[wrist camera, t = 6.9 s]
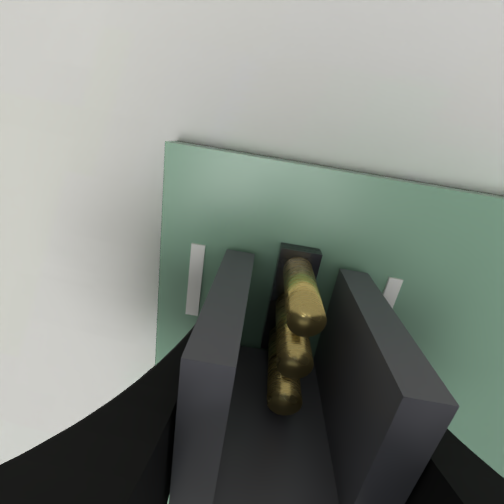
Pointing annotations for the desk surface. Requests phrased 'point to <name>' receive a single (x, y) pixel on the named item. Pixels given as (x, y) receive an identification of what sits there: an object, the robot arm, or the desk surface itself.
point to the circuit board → (347, 261)
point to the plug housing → (305, 405)
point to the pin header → (292, 325)
